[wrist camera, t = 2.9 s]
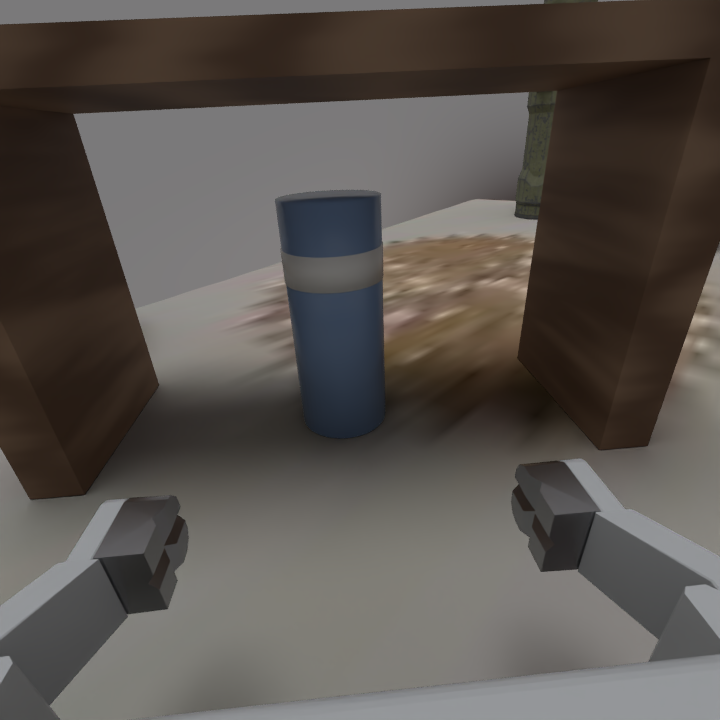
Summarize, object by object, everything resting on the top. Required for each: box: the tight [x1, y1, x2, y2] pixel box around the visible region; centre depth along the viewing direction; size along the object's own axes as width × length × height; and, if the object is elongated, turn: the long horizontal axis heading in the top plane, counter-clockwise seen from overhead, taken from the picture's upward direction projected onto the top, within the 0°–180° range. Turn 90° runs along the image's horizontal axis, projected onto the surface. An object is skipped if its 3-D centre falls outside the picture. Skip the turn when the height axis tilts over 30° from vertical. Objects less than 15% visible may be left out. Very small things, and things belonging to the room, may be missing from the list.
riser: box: [0, 0, 720, 499], centre depth 21 cm, size 30×10×18 cm, turn 94°
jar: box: [275, 190, 385, 438], centre depth 22 cm, size 5×5×12 cm
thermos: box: [515, 0, 598, 219], centre depth 70 cm, size 9×12×35 cm
